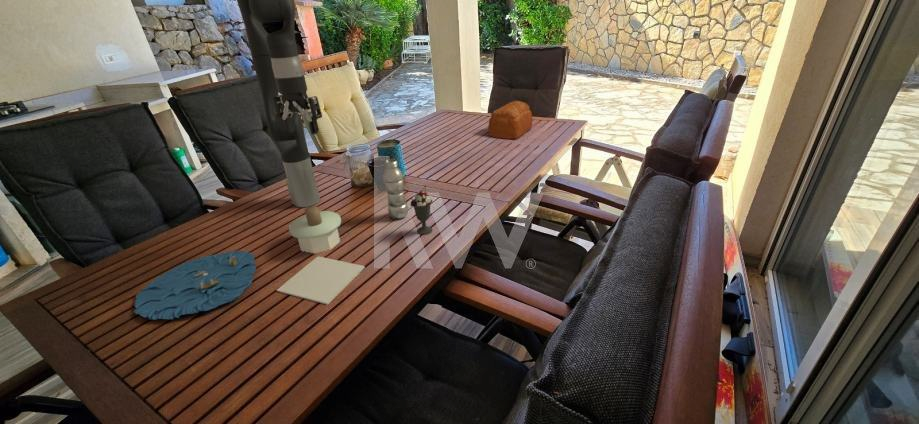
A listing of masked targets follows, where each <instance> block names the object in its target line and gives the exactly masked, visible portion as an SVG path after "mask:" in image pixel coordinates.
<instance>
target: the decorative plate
mask: <svg viewBox="0 0 919 424" xmlns="http://www.w3.org/2000/svg"><path fill="white" fill-rule="evenodd" d="M255 260H256V259H255V255H254V253H253V252H246V251H245V250H244V251H243V250H236V249H235V250H233V251H230V250H229V251H226V252H220V253H216V254H212V255H206V256H203V257H197V258H194V259H191V260H190V261H189V260H188V261H184V262H183V263H181V264H178V266H176V267H173V268H172V269H170V270H169V271H166V272H165V273H163V274H160V275H159V276H157V277H156V278H155V279H154V280H152V281H151V282H149V283H148V284H147V285H146V286H145V287H143V289H142V290H141V291H139V292H138V293H136V296H135V301H134V307H135V310H133V313H135V315H140V316H141V317H143V318H145V319H146V318H147V320H153V321H154V320H157V319H158V320H159V319H162V320H174V319H175V318H178V319H180V318H181V317H180V316H182V315H190V314H197V313H199V312H203V311H204V312H207V311H210V310H212V309H216V308H217V307H218V306H221V305H224V304H227V303H230V302H233V301H235V300H236V298H240V297H241V294H243V292H244V291H245V289H246V288H248V287H249V286H251V284H252V283H253V281H254V280H255V278H253V276H254V275H255V273H256V269H257V265H256V264H255V263H256V261H255Z"/></svg>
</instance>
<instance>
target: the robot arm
mask: <svg viewBox="0 0 919 424" xmlns="http://www.w3.org/2000/svg"><path fill="white" fill-rule="evenodd" d="M236 1H237V5H238V8H239V11H240V15H241V18H242V20H243V25H244V28H245V32H246V37H247V42H248V46H249V50H250V54H251V59H252V63H253V64H252V65H253V67H254V68H253V69H254V72H255V76H256V79H257V81H258V86H259V89H260V93H261V98H262V103H263V108H264V113H265V118H266V124H267V125H266V126H267V129H268V133H269V136H270V138H271V139H272V141H273V142H275V143H279V142H290V141H295V143H294V144H293V145H291V146H289V147H288V148H285V149H284V150H282V151H281V152H280V156H281V157H280V158H281V161H282V165H283V168H284V169H283V170H284V171H285V175H286V180H285V184H286V187H287V191H288V194H289V198H290V201H291V204H292V205H294V206H295V207H297V208H309V207H313V206H314V205H316V204H318V203H319V202H320V200H321V198H320V194H319V189H318V184H317V181H316V177H315V173H314V169H313V168H314V167H313V163H312V160H311V156H310V153H309V148H308V145H307V141H306V140H307V139H306V135H305V129H304V123H303V120H302V117H301V115H302V116H304V117H305V118H306V119H307V121H308V126H309V130H310V133H311V135H316V134H318V133H319V132H320V130H319V124H318V119H321V118H323V113H322V110H321V106H320V102H319V100H318V97H317V95H314V96H311V97H310V96H308V95H307V94H308V93H307V91H308V86H307V81H306V78H305V72H304V67H303V64H302V60H301V58H300V55H299V52H298V46H297V42H296V33H295V21H296V20H295V17H296V4H295V0H236ZM280 22H283V26H282V28H280V29H279V30H276V31H274V32H271V33H268V32H267V30H266V29H265V28H264V26H262V24H261V23H280ZM300 114H301V115H300Z"/></svg>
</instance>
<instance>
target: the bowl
mask: <svg viewBox="0 0 919 424" xmlns="http://www.w3.org/2000/svg"><path fill="white" fill-rule="evenodd" d="M297 240H298V245H299V247H300V251H301V252H304V251H305V253H309V252H310V253H309V254H318V253H321V252H326V251H329V250H332V249H333V248H334V247H335V246H337V245H338V244H339V243H341V239H340V234H339V231H338V228H337V229H336V230H334V231H333V232H331V233H329V234H327V235H324V236H321V237H317V238H311V239H300V238H297Z"/></svg>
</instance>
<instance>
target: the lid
mask: <svg viewBox="0 0 919 424" xmlns="http://www.w3.org/2000/svg"><path fill="white" fill-rule="evenodd" d="M341 224H342V218H341V215H340V214H339V213H337V212H334V211H329V210H320V207H318V206H314V205H312V206H308V207H306V208H305V209H304V215H301V216H299V217H297V218H295V219H294V220H293V221H292V222H290V224H289V226H288V231H289V234H290V235H291V236H292V237H294V238H295V239H298V238H300V239H311V238H317V237H321V236H324V235H327V234H329V233H331V232H333V231H334V230H336V229H338V228H339V227H341Z"/></svg>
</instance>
